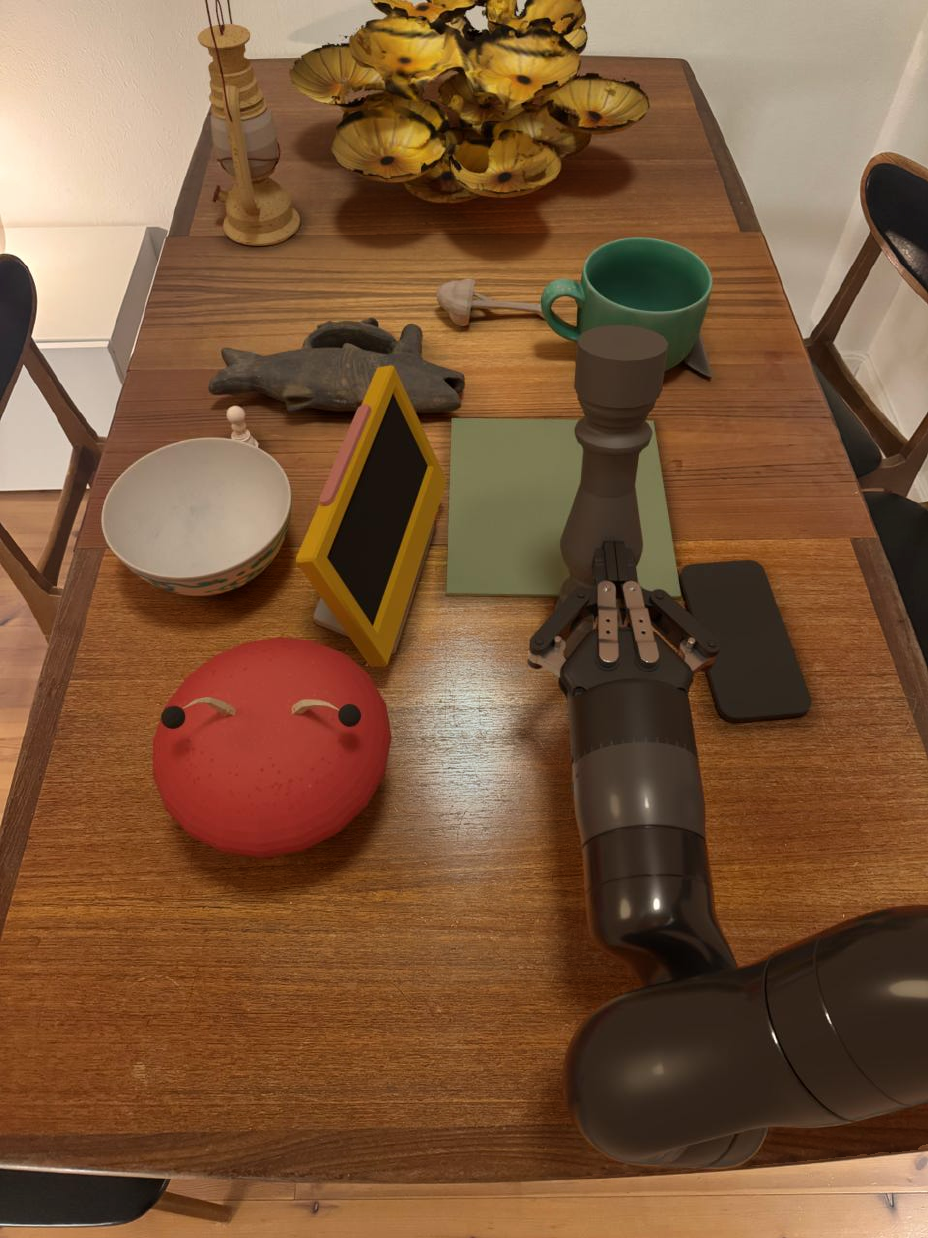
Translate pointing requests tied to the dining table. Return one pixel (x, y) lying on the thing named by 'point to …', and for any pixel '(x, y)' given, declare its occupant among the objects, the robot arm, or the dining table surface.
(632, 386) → the candle holder
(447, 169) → the mushroom
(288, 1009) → the dining table surface
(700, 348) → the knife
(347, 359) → the ceramic vessel
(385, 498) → the yellow framed monitor
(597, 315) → the mug
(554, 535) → the mat
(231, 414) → the chess pawn
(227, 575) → the chinaware
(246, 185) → the lantern
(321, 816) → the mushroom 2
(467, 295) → the mushroom
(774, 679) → the phone
